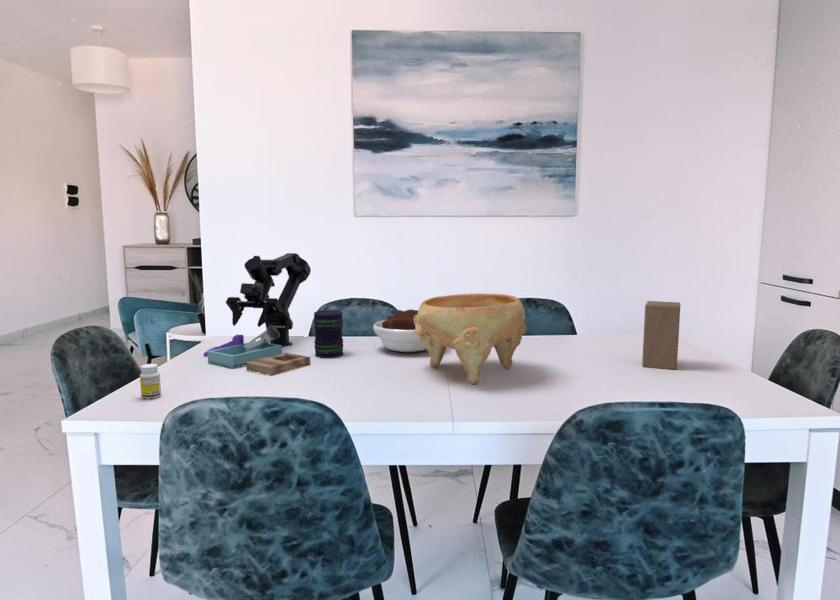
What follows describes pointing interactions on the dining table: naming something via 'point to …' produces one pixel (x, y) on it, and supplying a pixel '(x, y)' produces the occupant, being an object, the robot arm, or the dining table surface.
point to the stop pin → (262, 339)
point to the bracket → (235, 341)
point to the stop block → (278, 363)
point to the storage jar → (328, 334)
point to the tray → (241, 355)
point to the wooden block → (661, 334)
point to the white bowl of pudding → (399, 332)
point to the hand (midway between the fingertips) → (245, 325)
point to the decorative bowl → (471, 328)
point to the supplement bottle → (150, 381)
